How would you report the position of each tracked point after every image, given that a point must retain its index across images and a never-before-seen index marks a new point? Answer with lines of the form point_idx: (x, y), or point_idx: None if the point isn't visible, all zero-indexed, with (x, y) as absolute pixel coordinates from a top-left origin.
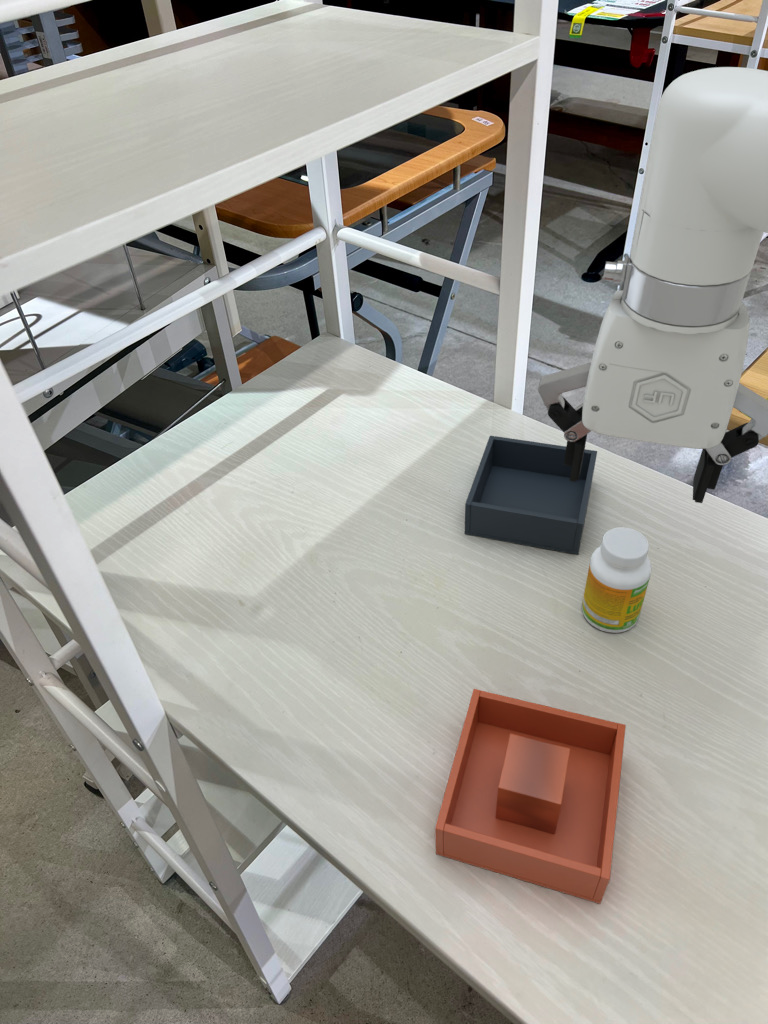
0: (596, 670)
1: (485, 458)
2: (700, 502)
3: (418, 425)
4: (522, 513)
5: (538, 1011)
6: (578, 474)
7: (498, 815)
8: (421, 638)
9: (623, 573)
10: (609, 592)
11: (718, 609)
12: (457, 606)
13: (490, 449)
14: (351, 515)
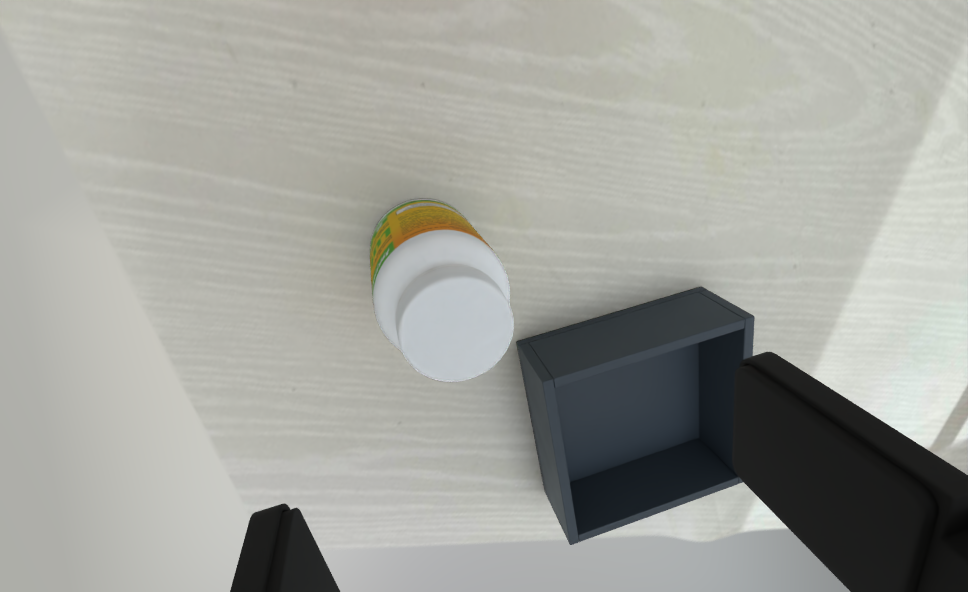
0: (394, 102)
1: None
2: (260, 512)
3: None
4: (653, 348)
5: None
6: (767, 383)
7: None
8: (712, 15)
9: (428, 265)
10: (438, 225)
11: (251, 354)
12: (671, 125)
13: None
14: (879, 229)
